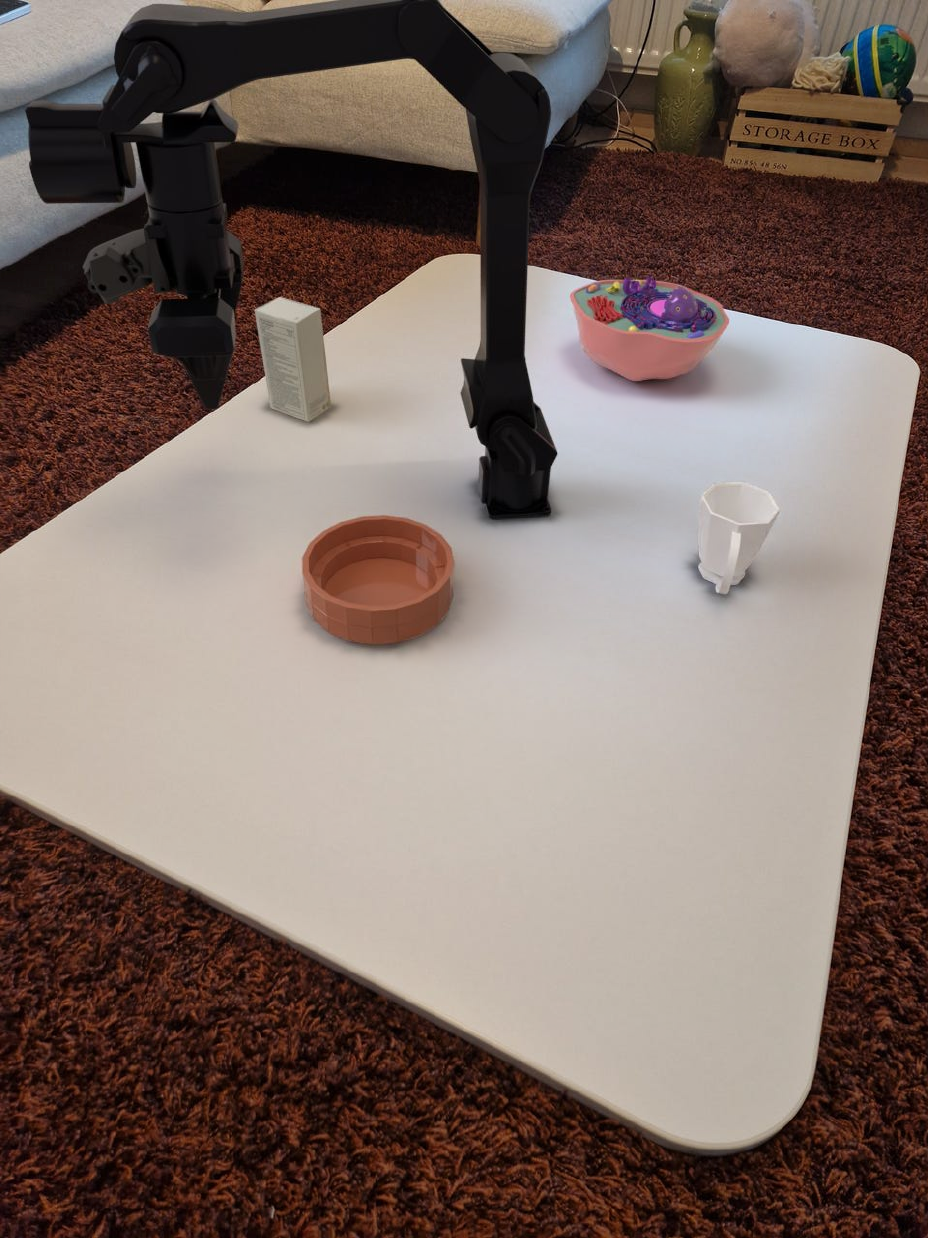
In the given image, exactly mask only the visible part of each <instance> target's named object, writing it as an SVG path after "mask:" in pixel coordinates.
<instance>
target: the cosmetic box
mask: <svg viewBox="0 0 928 1238" xmlns="http://www.w3.org/2000/svg"><path fill="white" fill-rule="evenodd" d="M254 315H255V321H256V327H257V334H258V340H259V347H260V352H261V353H260V354H261V358H262V364H263V365H262V366H263V371H264V377H265V383H266V389H267V395H268V402H269V407H270V409H272V410H273V411H274V410H275V411H277V412H279V413H282V414H285V415H288V416H290V417H292V418H293V417H294V418H295V419H298V420H302V421H305V422H306V423H307V422H308V423H309V422H311V421H313V420H314V419H316V418H318V417H319V416H320V415H321V414H324V413H325V412H326V411H328V410H329V409H331V407H332V402H331V401H332V400H331V392H330V384H329V376H328V375H329V373H328V365H327V358H326V347H325V339H324V331H323V329H324V328H323V319H322V312H321V308H319V307H317V306H312V305H309V304H306V303H302V302H299V301H295V300H293V299H288V298H285V297H282V296H278V297H276V298H275V299H272V300H270V301H269V302H267V303H265V304H262V305H261V306H259V307H257V308H255V309H254Z"/></svg>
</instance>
